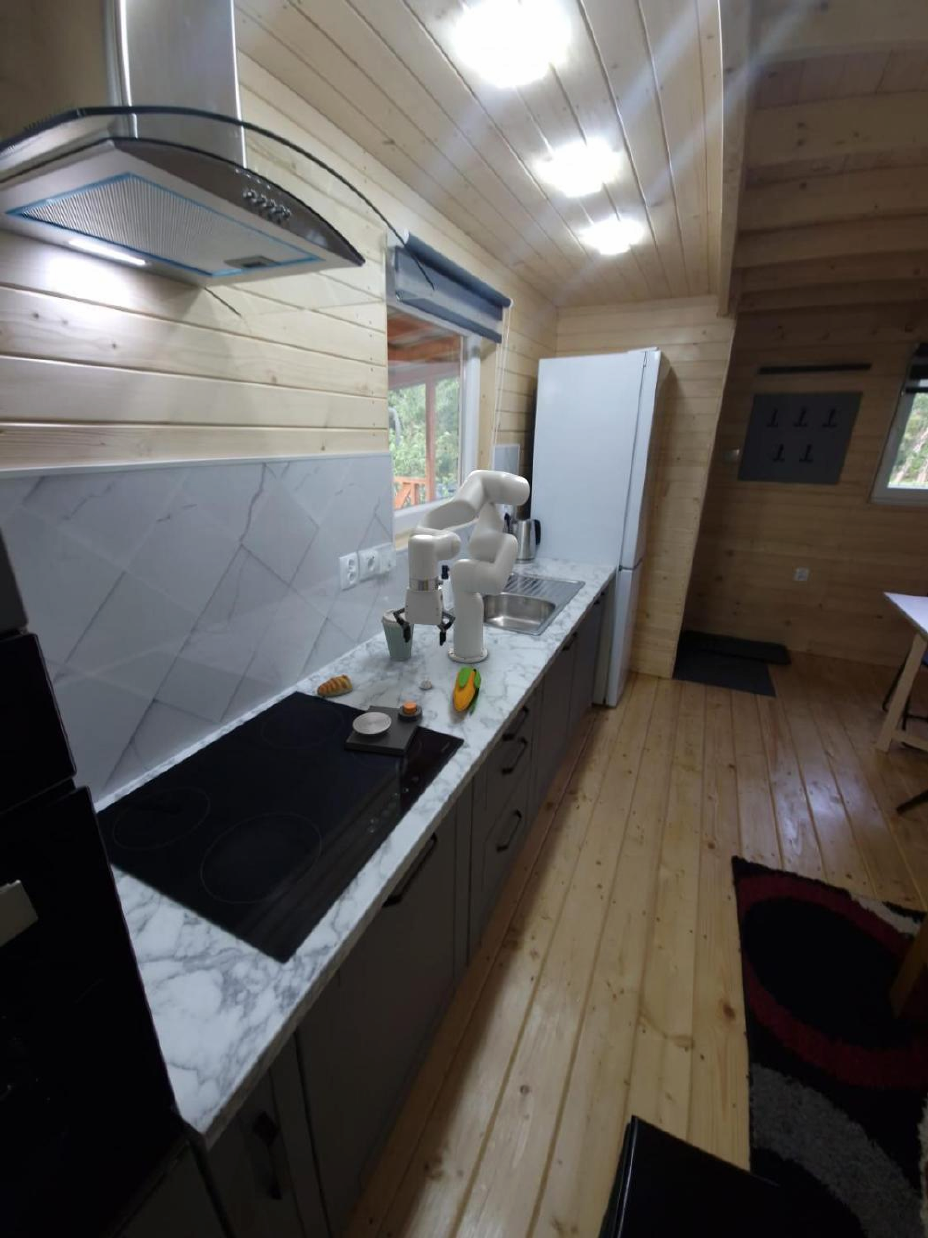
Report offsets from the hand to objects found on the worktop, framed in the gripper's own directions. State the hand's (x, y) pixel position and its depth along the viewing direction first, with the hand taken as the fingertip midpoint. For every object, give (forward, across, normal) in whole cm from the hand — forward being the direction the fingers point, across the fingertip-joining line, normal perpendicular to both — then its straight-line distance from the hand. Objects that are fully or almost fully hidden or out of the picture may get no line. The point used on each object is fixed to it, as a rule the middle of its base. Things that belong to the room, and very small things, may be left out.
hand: (424, 642), depth 136 cm
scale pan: (+11, +6, +25) cm, 28 cm away
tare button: (+11, -1, +17) cm, 21 cm away
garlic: (+14, 0, 0) cm, 14 cm away
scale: (+14, +4, +23) cm, 27 cm away
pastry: (+14, +24, +7) cm, 29 cm away
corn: (+14, -13, +5) cm, 20 cm away
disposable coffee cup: (+14, +13, -17) cm, 26 cm away
